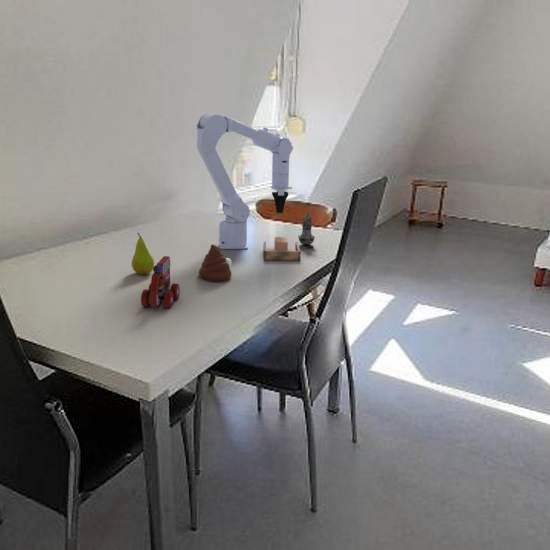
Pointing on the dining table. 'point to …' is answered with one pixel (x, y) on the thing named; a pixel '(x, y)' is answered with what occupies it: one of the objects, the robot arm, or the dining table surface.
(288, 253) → the walnut tray
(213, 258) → the poop emoji
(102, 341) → the dining table surface
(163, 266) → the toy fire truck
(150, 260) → the fruit
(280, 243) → the tall block
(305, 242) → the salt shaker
